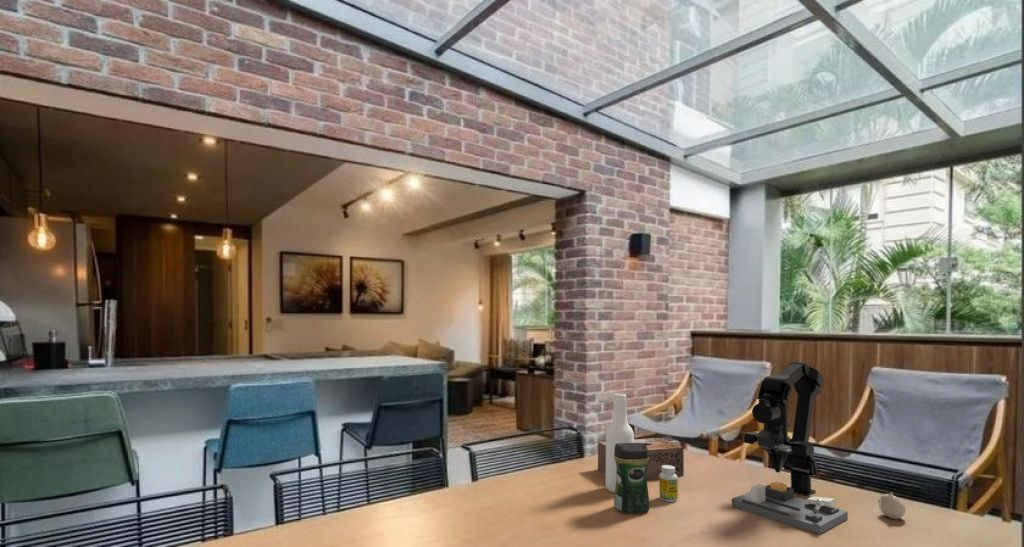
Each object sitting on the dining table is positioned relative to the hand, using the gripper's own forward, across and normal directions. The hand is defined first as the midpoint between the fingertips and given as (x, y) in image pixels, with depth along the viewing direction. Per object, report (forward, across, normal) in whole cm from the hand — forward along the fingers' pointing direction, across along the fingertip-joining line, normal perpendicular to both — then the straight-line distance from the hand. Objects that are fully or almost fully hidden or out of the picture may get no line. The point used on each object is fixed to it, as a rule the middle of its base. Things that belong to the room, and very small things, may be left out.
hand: (777, 472), depth 155 cm
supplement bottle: (+10, -21, -25) cm, 34 cm away
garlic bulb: (+9, +24, +16) cm, 30 cm away
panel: (+9, +5, -5) cm, 12 cm away
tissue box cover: (+10, -43, -11) cm, 45 cm away
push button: (+7, 0, 0) cm, 7 cm away
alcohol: (+10, -35, -31) cm, 48 cm away
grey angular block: (+7, -1, -10) cm, 12 cm away
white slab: (+6, +12, 0) cm, 13 cm away
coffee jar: (+10, -22, -41) cm, 47 cm away
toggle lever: (+6, +14, -10) cm, 18 cm away
